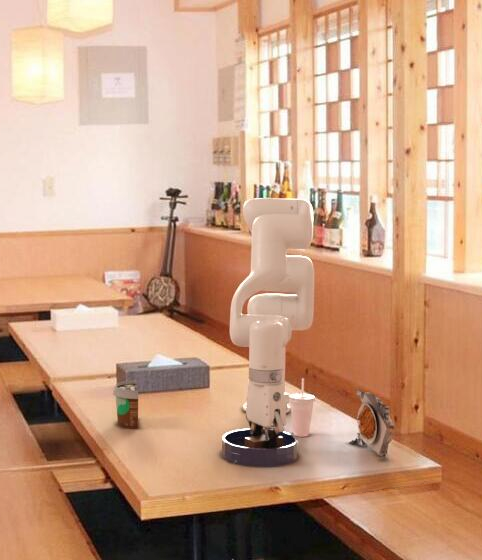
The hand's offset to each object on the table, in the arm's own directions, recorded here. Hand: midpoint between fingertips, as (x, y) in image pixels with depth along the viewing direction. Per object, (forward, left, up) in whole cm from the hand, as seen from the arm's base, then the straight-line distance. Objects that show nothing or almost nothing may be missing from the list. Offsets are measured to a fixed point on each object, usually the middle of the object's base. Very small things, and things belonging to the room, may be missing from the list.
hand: (263, 453), depth 240 cm
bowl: (0, -2, -1) cm, 2 cm away
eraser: (0, 0, 0) cm, 0 cm away
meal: (-25, +8, -1) cm, 26 cm away
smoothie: (-19, -12, -1) cm, 22 cm away
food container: (+15, -41, -1) cm, 43 cm away
